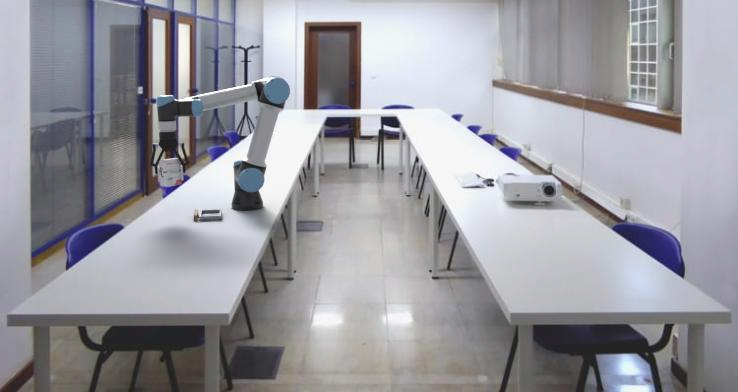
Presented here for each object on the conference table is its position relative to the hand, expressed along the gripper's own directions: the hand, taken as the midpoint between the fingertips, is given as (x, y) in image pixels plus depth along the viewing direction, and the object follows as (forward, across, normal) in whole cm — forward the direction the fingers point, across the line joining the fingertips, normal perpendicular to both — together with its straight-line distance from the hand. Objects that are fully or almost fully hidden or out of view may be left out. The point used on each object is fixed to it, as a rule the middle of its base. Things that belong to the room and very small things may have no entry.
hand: (170, 180), depth 318 cm
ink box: (+2, 0, 0) cm, 2 cm away
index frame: (+17, -16, +2) cm, 24 cm away
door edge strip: (+17, -10, +2) cm, 20 cm away
